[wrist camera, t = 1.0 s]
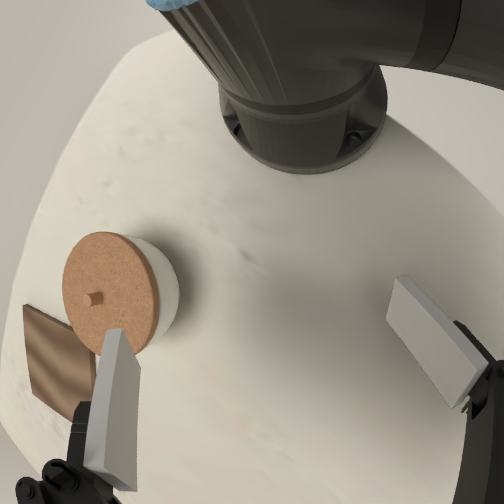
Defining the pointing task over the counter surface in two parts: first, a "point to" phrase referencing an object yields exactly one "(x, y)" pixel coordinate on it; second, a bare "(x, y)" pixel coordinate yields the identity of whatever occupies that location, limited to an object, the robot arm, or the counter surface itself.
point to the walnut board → (57, 362)
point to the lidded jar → (119, 290)
